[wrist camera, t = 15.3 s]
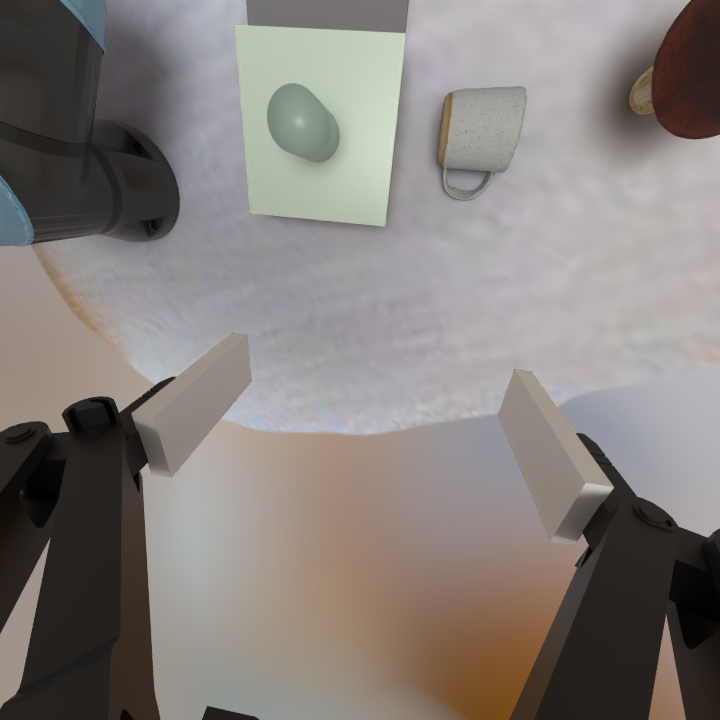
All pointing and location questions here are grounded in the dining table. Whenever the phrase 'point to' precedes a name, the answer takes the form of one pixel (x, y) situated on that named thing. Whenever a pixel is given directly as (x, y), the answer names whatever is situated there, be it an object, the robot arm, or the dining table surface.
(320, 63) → the lid
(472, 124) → the ceramic mug
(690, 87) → the decorative mushroom
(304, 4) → the mat
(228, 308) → the dining table surface
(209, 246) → the dining table surface
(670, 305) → the dining table surface
